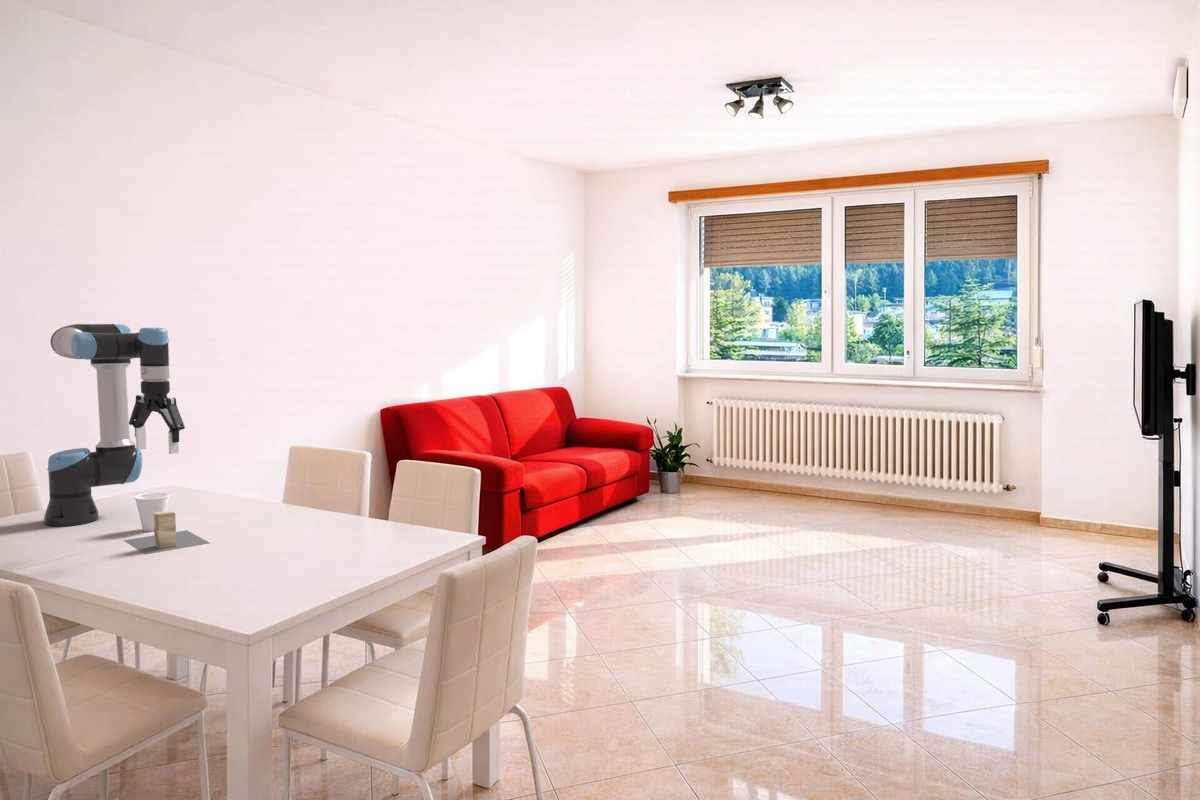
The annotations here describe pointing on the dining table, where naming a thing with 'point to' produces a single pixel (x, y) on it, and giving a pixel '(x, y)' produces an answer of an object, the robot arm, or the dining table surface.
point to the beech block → (165, 529)
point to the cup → (150, 508)
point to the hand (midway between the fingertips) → (157, 451)
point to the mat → (182, 541)
